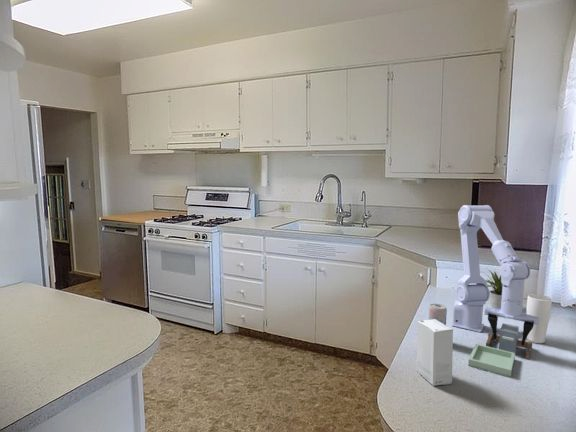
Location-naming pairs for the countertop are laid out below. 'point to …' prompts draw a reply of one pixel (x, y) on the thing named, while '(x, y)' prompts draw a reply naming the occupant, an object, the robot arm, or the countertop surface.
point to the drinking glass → (541, 309)
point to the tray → (492, 360)
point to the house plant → (495, 291)
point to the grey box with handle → (508, 338)
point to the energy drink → (438, 313)
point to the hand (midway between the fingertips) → (508, 341)
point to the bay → (526, 344)
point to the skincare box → (434, 351)
